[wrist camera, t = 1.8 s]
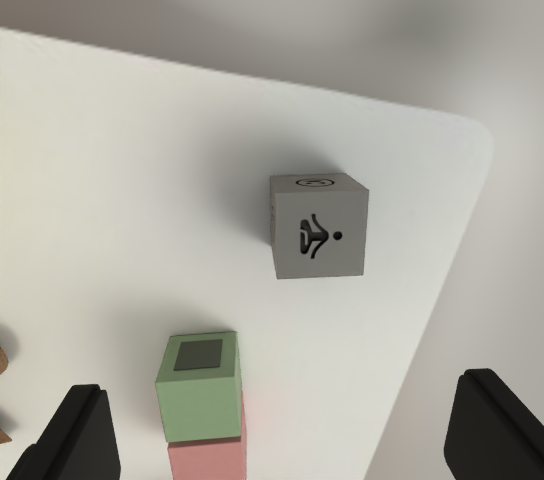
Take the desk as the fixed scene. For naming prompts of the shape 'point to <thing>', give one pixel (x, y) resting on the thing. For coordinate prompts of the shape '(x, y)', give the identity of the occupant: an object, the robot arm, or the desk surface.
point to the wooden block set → (0, 366)
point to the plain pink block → (210, 457)
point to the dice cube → (318, 225)
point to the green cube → (200, 387)
